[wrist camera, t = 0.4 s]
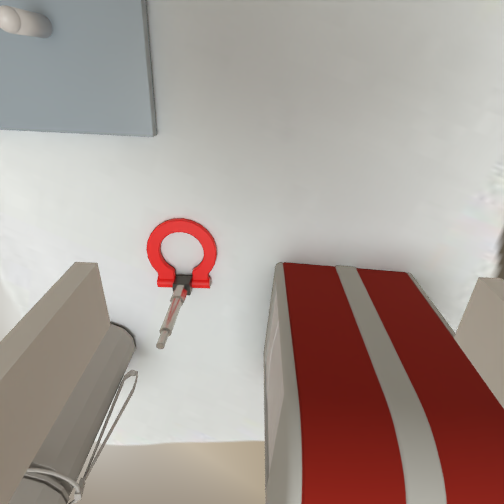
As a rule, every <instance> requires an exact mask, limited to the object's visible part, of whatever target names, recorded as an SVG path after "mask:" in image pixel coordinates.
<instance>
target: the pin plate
mask: <svg viewBox="0 0 504 504" xmlns="http://www.w3.org/2000/svg"><path fill="white" fill-rule="evenodd" d="M0 130H19V131H39V132H60V133H80V134H100V135H121V136H141V137H154V136H156V135H157V129H156V117H155V105H154V92H153V80H152V68H151V56H150V44H149V32H148V20H147V8H146V0H0Z"/></svg>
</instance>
